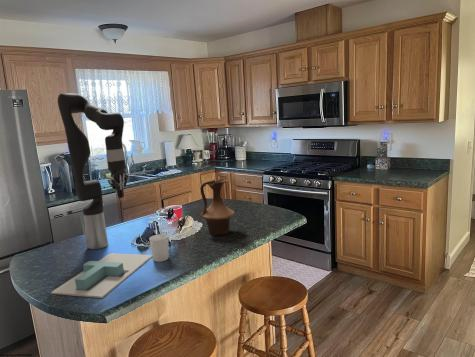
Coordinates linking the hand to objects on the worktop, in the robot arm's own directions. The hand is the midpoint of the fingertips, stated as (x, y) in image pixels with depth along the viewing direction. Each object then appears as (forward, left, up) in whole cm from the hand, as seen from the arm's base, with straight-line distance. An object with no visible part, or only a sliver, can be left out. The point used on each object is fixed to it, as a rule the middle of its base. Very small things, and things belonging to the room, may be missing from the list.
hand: (121, 197), depth 165 cm
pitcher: (+33, +33, -27) cm, 54 cm away
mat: (+2, -20, -27) cm, 33 cm away
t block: (+2, -27, -26) cm, 38 cm away
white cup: (+18, -3, -27) cm, 33 cm away
